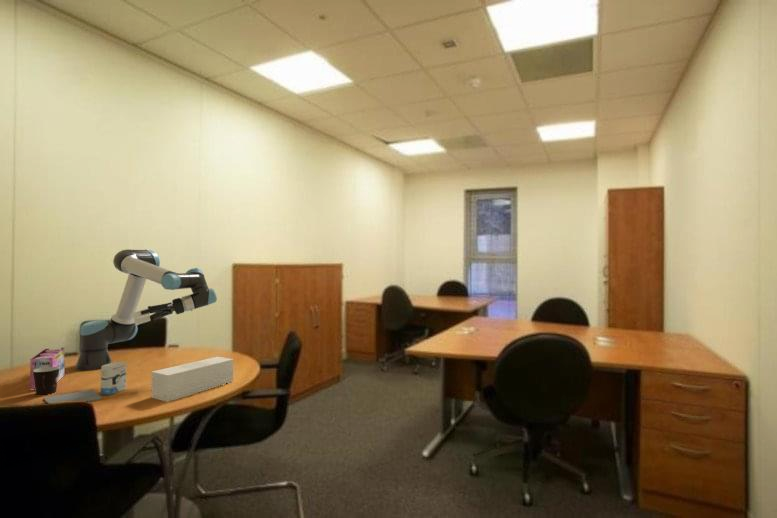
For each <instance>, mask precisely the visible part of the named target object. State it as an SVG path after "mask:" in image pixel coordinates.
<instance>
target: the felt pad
mask: <svg viewBox="0 0 777 518" xmlns="http://www.w3.org/2000/svg"><path fill="white" fill-rule="evenodd" d="M43 399H45V400H46V401H45V400H44V401H45V403H52V402H62V401H88V402H87V403H90V402H94V401H95V402H96V401H100V400H103V396H101V395H100V394H98V392H97V391H95V390H94V389H92V388H91V389H86V390H80V391H75V392H70V393H64V394H58V395H54V396H47V397H43Z"/></svg>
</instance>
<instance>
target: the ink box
mask: <svg viewBox="0 0 777 518" xmlns="http://www.w3.org/2000/svg"><path fill="white" fill-rule="evenodd" d="M100 372H101V373H100V374H101V375H100V378H101V379H100V394H101V395H109V396H111V395H114V394H117V393H119V392H121V391H124V390H127V362H126V361H114V362H111V363H110V364H106V365H103V366H101V369H100Z"/></svg>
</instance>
